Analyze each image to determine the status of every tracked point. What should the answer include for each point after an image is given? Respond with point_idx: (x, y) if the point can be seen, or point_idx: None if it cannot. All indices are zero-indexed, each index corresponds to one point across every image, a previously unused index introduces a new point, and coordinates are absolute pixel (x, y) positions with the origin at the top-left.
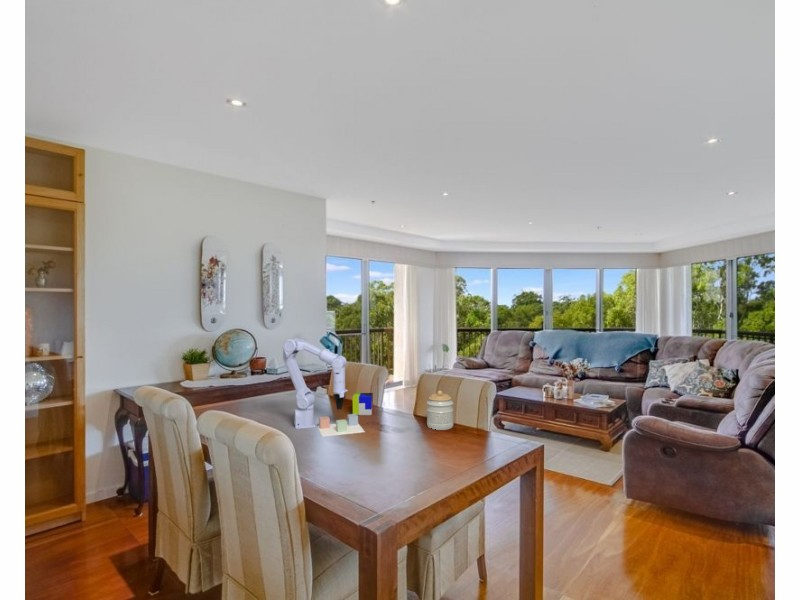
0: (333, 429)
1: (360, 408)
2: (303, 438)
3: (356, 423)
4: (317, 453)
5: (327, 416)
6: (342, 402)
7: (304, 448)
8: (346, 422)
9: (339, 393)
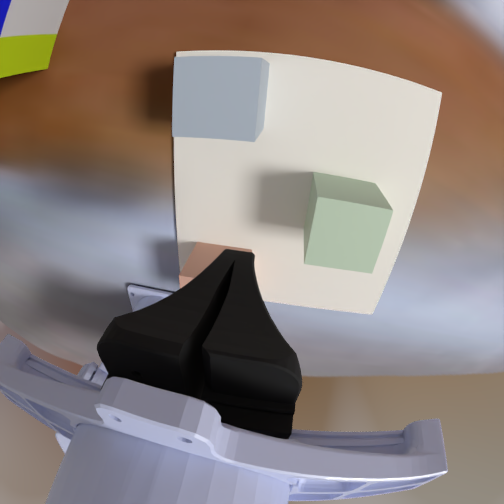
0: (291, 240)
1: (29, 25)
2: (334, 361)
3: (266, 74)
4: (486, 347)
5: (180, 280)
6: (261, 303)
7: (428, 369)
8: (390, 213)
9: (391, 489)
